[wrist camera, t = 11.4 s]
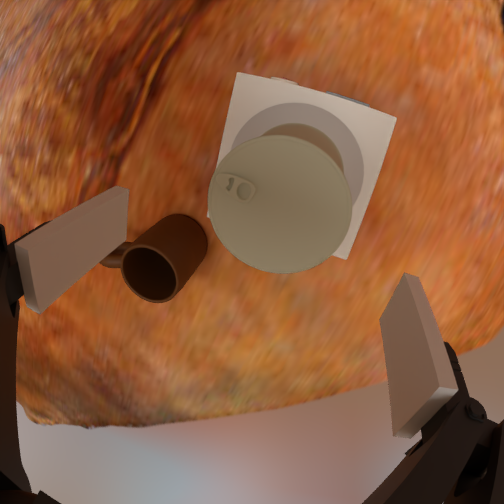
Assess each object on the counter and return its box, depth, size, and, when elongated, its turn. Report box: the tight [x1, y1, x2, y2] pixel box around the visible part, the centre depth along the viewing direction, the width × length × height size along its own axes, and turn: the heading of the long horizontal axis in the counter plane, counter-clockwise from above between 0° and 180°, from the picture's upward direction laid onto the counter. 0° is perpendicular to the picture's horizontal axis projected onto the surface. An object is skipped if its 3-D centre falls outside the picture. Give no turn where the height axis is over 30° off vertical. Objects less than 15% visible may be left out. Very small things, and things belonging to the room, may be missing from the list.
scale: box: [207, 72, 397, 260], centre depth 32 cm, size 16×16×5 cm
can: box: [208, 123, 352, 274], centre depth 25 cm, size 9×9×12 cm
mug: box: [99, 215, 207, 303], centre depth 38 cm, size 12×8×9 cm, turn 83°
